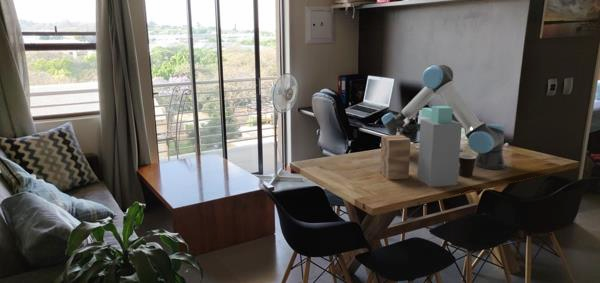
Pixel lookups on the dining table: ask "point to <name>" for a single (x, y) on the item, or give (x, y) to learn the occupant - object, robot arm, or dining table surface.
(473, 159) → the coffee mug
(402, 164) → the walnut block
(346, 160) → the dining table surface
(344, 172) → the dining table surface
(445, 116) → the teal bar
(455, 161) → the stand
